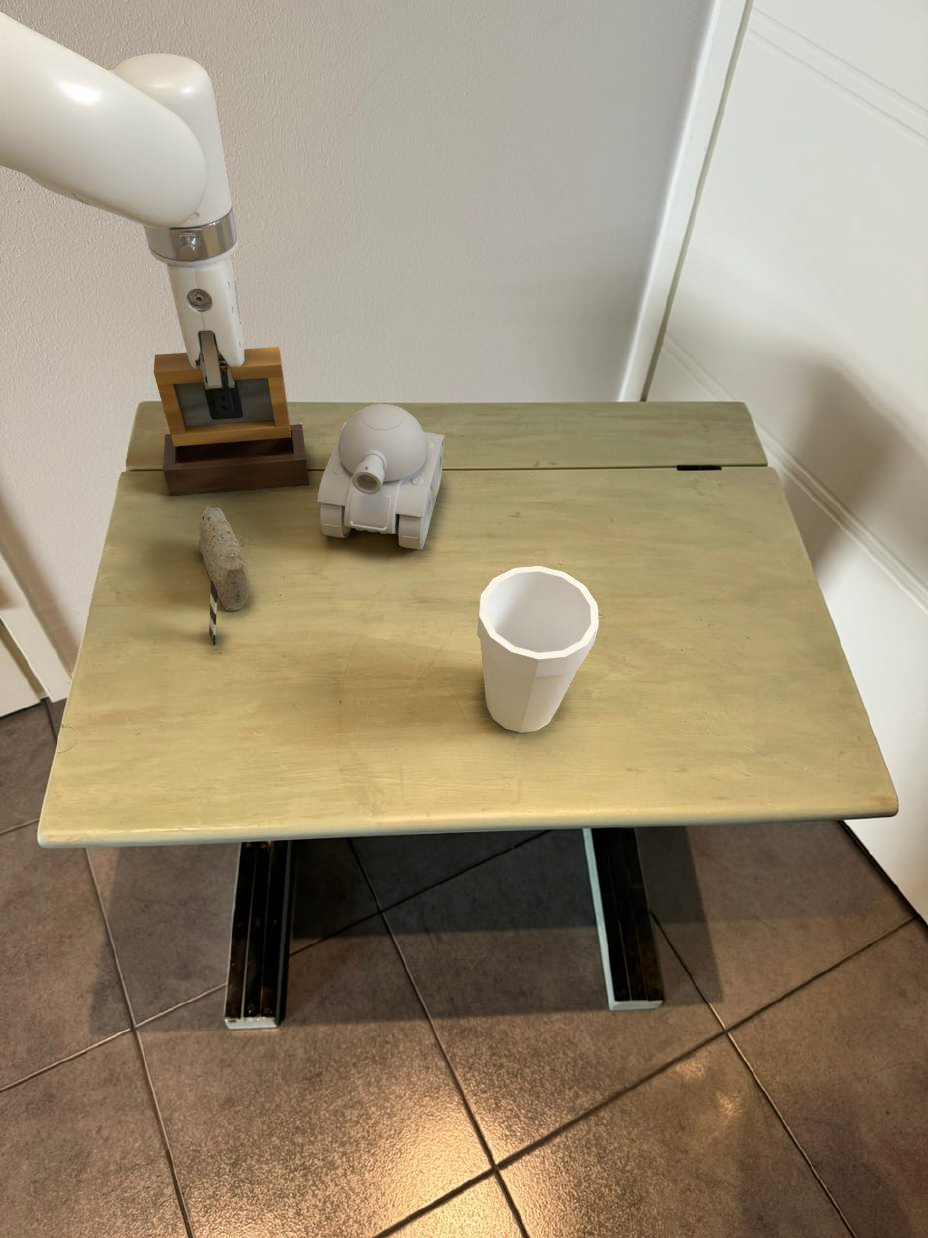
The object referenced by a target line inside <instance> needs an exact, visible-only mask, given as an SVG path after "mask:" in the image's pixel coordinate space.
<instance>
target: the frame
mask: <svg viewBox="0 0 928 1238" xmlns="http://www.w3.org/2000/svg"><path fill="white" fill-rule="evenodd" d="M283 368H284V367H283V363H282V354H281V348H280V346H272V347H271V346H270V347H257V348H255V347H254V348H244V363H243V364H242V366H241V367H237V366H235V367H232V372H233V377H234V382H237V383H238V388H239V394H240V399H241V404H242V410H243V417H242V418H235V419H222V420H213V419H211V417H210V413H209V408H208V404H207V400H206V395H205V391H204V380H203V375H202V371H201V366H200V367H199V368H198V370H197V369H195V368H194V367H192V366H191V364H190V361H189V358H188V355H187V352H174V353H160V354H159V353H158V354H157V353H156V354H154V361H153V377H154V379H155V383H156V386H157V390H158V394H159V397H160V401H161V404H162V409H163V411H164V416H165V419H166V423H167V427H168V430H169V434H171V437H172V441H173V445H174V446H187V445H200V444H213V443H226V442H238V441H251V440H264V439H277V438H289V437H291V430H290V425H291V421H290V414H289V413H290V411H289V406H288V405H289V404H288V399H287V391H286V384H285V383H286V382H285V376H284V369H283ZM220 370H221V372H225V373H226V370H225V366H220Z"/></svg>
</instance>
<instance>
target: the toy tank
mask: <svg viewBox="0 0 928 1238" xmlns="http://www.w3.org/2000/svg"><path fill="white" fill-rule="evenodd" d="M444 439H446V434H442V433H435V432H429V431H428V432H427V431H424V429H423V428H422V425H421V424H420V422H419V421H418V419H416V418H415V417H414V415H413V414H412V413H410V412H409V411H407V410H406V409H404V408H402V407H400V406H397V405H394V404H389V403H375V404H371V405H367V406H365V407H362V408H360V409H358V411H356V412H355V413H353V414H352V415H350V417H349V418H348V420H346V421H345V422H344V423H343V425H342V426H341V428H340V431H339V434H338V436H337V439H336V440H335V443H334V446H333V448H332V450H331V453H330V456H329V458H328V461H327V463H326V466H325V469H324V471H323V473H322V476H321V481H320V484H319V488H318V494H317V500H316V502H317V503H319V504H320V506H319V507H320V509H319V523H320V530H321V533H322V535H325V536H328V537H334V538H339V539H341V538H345V539H346V538H347V537H349V535H350V533H351V530H352V529H355V530H356V531H363V532H364V530H365V531H367V532H369V533H376V532H379V534H383V535H387V534H391V535H398V545H399V546H400V547H402V548H405V549H406V548H407V549H413V550H422V549H423V548H424V545H425V542H426V540H427V536H428V533H429V529H430V525H431V519H432V516H433V513H434V508H435V505H436V501H437V497H438V494H439V490H440V487H441V482H442V481H441V480H442V474H443V468H444V467H443V466H444Z"/></svg>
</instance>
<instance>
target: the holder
mask: <svg viewBox="0 0 928 1238" xmlns="http://www.w3.org/2000/svg"><path fill="white" fill-rule="evenodd" d="M290 430H291V437H289V438H277V439H264V440H251V441H238V442H226V443H213V444H200V445H187V446H174V445H173V441H172V437H171V434H170V433H165V434H164V447H163V463H162V472H163V476H164V479H165V482H166V486H167V488H168V492H169V495H170V497H175V496H188V495H200V494H211V493H222V492H234V491H243V490H245V491H246V490H255V489H268V488H269V489H270V488H279V487H281V488H282V487H290V486H291V487H292V486H293V487H294V486H305V485H309V484H310V481H309V480H310V479H309V473H308V471H309V470H308V462H307V454H306V445H305V436H304V427H303V424H302V423H299V424H298V423H297V424H290Z"/></svg>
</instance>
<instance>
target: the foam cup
mask: <svg viewBox="0 0 928 1238" xmlns="http://www.w3.org/2000/svg"><path fill="white" fill-rule="evenodd" d="M477 618H478V619H477V631H476V632H477V634H476V635H477V637H478V639H479V642H480V652H481V662H482V663H481V664H482V672H483V673H482V674H483V681H484V682H483V683H484V691H485V692H484V694H485V703H486V708H487V710H488V712H489V714H490V716H491V718H492V720H493V721H495V722H496V723H498V724H499V725H500V726H501V727H503V728H504V729H506V730H509V731H512V732H516V733H520V734H522V733H532V732H537V731H539V730H541V729H542V728H544V727H546V726H548V725H549V724H550V722H551V721H552V719H553V717H554V716H555V714H556V713H557V710H558V709H559V707H560V705H561V703H562V701H563V699H564V697H565V695H566V693H567V691H568V689H569V688H570V686H571V684H572V682H573V679H574V677H575V676H576V674H577V672H578V670H579V668H580V666H581V664H583V663H584V661H585V659H586V658H587V656H588V655H589V652H590V651H591V650H592V648H593V646H594V645H595V640H596V637H597V633H598V631H599V626H600V625H599V605H598V603H597V601H596V600H595V598H594V597H593V596H592V594H591V592H590V591H589V589H588V588H587V586H586V585H585V584H583V583H581V581H579V580H577V579H575V578H574V577H572V575H570V574H568V573H566V572H565V571H561V570H558V569H554V568H549V567H545V566H542V565H534V566H523V567H522V566H521V567H513V568H512V569H509V570H508V571H505V572H503V573H501V574H500V575H497V576H494V577H493V578H492V579H491V580H490V582H489V583H488V584H487V586H486V587H485V589H484V590H483V592H482V593H481V594H480V597H479V607H478V617H477Z"/></svg>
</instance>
